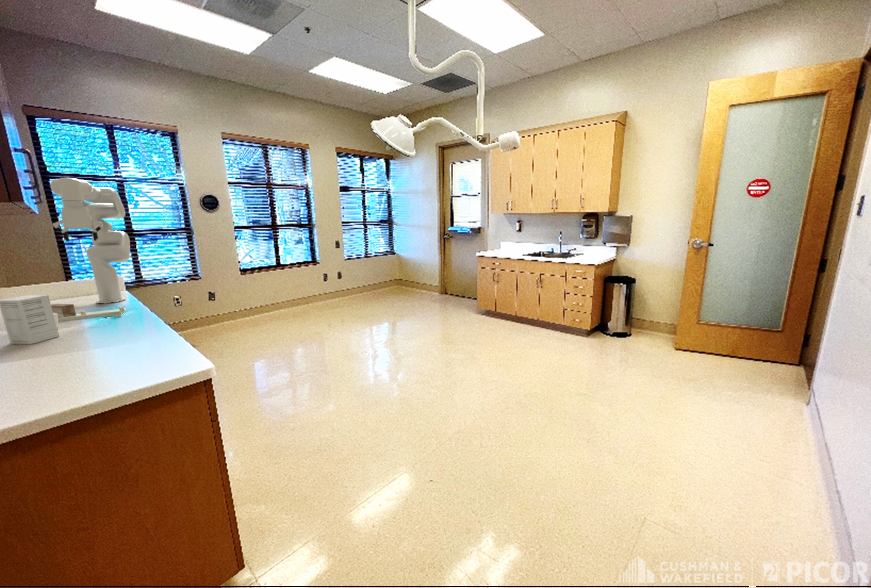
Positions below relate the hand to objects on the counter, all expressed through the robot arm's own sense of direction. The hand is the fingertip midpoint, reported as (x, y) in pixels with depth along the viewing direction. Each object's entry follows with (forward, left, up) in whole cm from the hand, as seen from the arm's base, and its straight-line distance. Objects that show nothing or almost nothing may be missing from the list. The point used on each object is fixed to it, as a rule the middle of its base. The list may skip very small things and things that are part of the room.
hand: (82, 240), depth 170 cm
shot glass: (+34, -8, -36) cm, 50 cm away
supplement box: (+48, -8, -36) cm, 61 cm away
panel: (+15, -1, -35) cm, 39 cm away
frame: (+14, -9, -34) cm, 38 cm away
